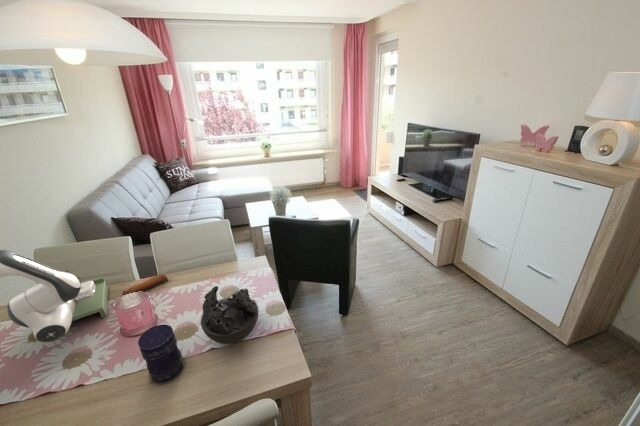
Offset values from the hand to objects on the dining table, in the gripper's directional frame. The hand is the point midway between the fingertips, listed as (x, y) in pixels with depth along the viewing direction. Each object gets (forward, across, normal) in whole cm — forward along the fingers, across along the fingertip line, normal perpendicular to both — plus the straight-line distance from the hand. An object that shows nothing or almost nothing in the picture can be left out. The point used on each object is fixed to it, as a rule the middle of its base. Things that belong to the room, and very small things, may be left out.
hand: (64, 286), depth 115 cm
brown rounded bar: (+5, -25, +15) cm, 30 cm away
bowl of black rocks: (-48, -51, +16) cm, 71 cm away
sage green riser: (+3, 0, +15) cm, 15 cm away
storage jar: (-50, -28, +16) cm, 59 cm away
